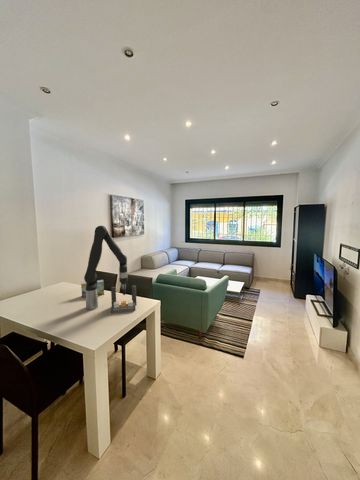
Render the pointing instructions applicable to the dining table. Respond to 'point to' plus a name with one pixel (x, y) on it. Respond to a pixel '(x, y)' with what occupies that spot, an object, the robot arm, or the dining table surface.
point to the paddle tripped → (123, 303)
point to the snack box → (99, 288)
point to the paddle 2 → (130, 303)
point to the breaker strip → (123, 308)
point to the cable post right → (134, 294)
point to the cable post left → (113, 295)
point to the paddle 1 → (116, 304)
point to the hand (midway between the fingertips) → (124, 294)
